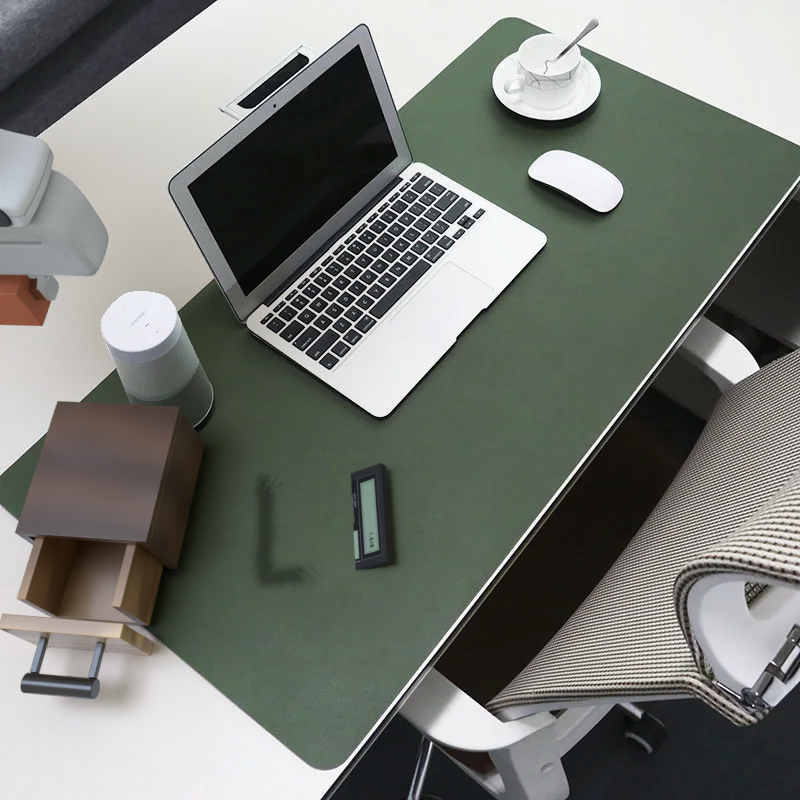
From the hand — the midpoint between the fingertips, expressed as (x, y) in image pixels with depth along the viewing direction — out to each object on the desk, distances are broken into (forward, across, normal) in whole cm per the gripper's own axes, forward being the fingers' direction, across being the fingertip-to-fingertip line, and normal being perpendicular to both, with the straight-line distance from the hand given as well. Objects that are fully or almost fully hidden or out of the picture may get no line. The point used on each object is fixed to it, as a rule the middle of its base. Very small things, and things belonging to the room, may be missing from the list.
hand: (16, 293), depth 69 cm
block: (+2, 0, 0) cm, 2 cm away
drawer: (+19, +6, -21) cm, 29 cm away
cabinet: (+20, +6, -11) cm, 23 cm away
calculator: (+20, +25, -12) cm, 34 cm away
